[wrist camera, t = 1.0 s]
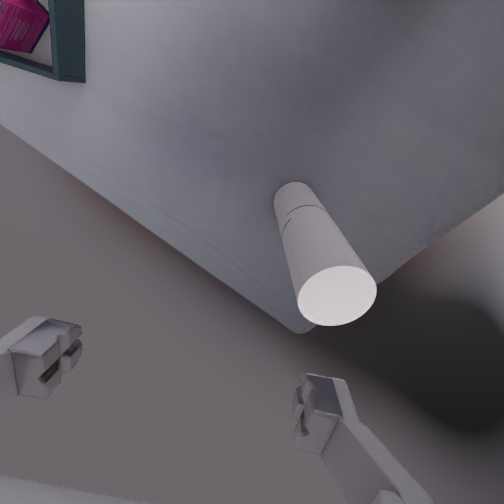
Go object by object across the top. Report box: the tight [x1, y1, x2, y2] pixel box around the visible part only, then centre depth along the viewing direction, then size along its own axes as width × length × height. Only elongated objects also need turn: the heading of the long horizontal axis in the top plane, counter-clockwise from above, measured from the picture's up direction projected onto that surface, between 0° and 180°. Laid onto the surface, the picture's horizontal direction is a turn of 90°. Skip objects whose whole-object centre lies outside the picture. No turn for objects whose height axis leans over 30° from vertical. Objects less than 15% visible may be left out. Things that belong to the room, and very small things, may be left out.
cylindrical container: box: [273, 182, 377, 326], centre depth 35 cm, size 7×7×25 cm
